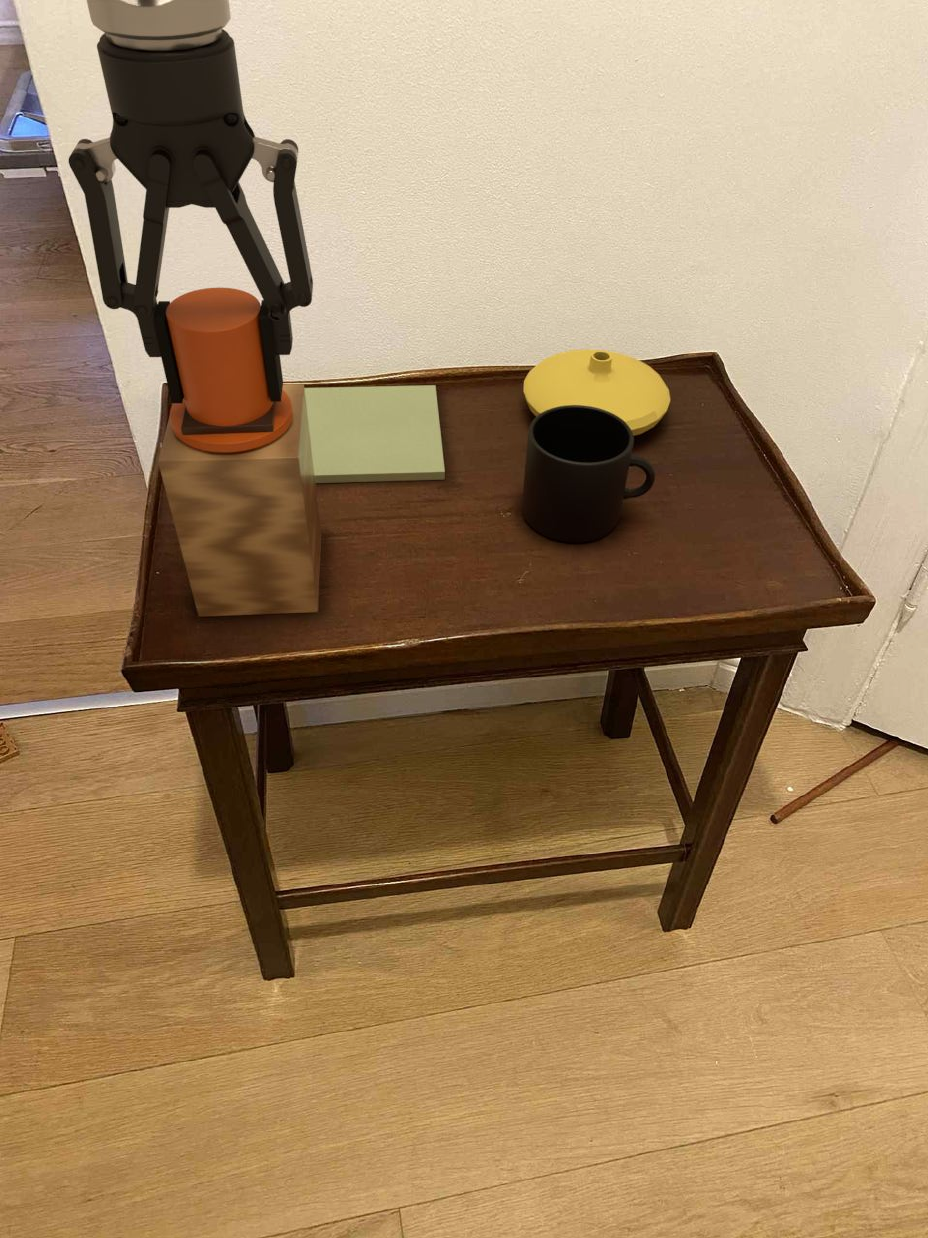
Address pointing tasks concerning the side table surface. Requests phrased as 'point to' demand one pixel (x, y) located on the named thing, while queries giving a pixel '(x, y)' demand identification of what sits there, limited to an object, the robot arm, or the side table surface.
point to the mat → (375, 433)
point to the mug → (579, 472)
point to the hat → (223, 373)
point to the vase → (599, 386)
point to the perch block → (248, 521)
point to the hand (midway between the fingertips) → (228, 391)
